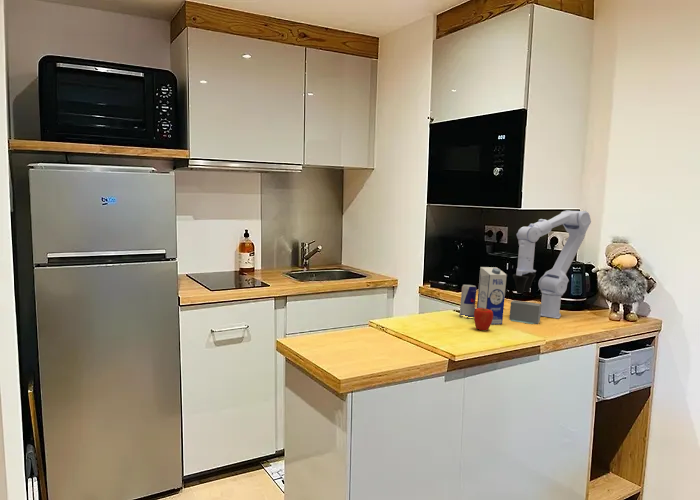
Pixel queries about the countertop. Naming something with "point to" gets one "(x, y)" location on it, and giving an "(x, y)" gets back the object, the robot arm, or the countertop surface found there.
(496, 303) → the milk carton
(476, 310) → the apple
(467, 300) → the energy drink
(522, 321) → the tape square
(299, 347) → the countertop surface
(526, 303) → the grey rectangular box
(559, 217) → the robot arm
